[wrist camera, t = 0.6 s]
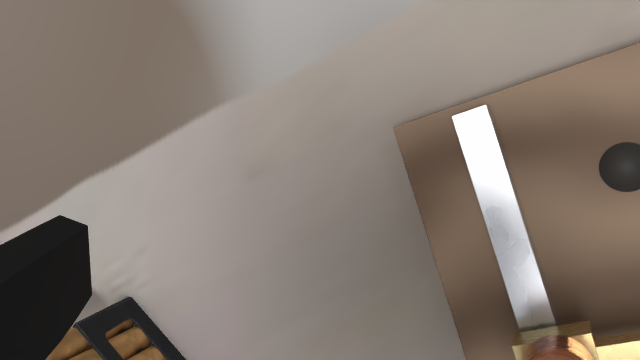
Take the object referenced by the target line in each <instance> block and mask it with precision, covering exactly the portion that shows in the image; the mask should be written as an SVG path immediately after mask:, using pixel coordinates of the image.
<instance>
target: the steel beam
mask: <svg viewBox="0 0 640 360" xmlns="http://www.w3.org/2000/svg"><path fill="white" fill-rule="evenodd" d="M452 119H453V122H454V125H455V128H456V132H457V135H458V138H459V141H460V144H461V147H462V150H463V154H464V157H465V160H466V163H467V166H468V169H469V172H470V176H471V179H472V182H473V185H474V188H475V191H476V194H477V198H478V201H479V204H480V207H481V210H482V213H483V217H484V220H485V223H486V226H487V229H488V232H489V235H490V239H491V242H492V245H493V248H494V251H495V254H496V257H497V261H498V264H499V267H500V270H501V273H502V276H503V279H504V283H505V286H506V289H507V292H508V295H509V298H510V302H511V305H512V308H513V311H514V314H515V317H516V320H517V324H518V327H519V330H520V332H525V331H531V330H537V329H543V328H548V327H554V326H560V324H559V321H558V318H557V315H556V311H555V308H554V305H553V302H552V299H551V296H550V293H549V289H548V286H547V283H546V280H545V277H544V274H543V271H542V268H541V264H540V261H539V258H538V255H537V252H536V249H535V246H534V242H533V239H532V236H531V233H530V230H529V227H528V224H527V220H526V217H525V214H524V211H523V208H522V205H521V202H520V199H519V195H518V192H517V189H516V186H515V183H514V180H513V177H512V173H511V170H510V167H509V164H508V161H507V158H506V155H505V151H504V148H503V145H502V142H501V139H500V136H499V133H498V130H497V126H496V123H495V120H494V117H493V114H492V111H491V108H490V105H484V106H481V107H478V108H475V109H472V110H469V111H466V112H463V113H460V114H457V115H454V116H452Z"/></svg>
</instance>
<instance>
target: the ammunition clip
mask: <svg viewBox="0 0 640 360" xmlns="http://www.w3.org/2000/svg"><path fill="white" fill-rule="evenodd" d="M46 360H186V359H185V358H184V357H183V356H182V355H181V353H180V352H179V351H178V350H177V349H176V348H175V347H174V345H173V344H172V343H171V342H170V341H169V340H168V338H167V337H166V336H165V335H164V334H163V333H162V332H161V330H160V329H159V328H158V327H157V326H156V325H155V324H154V322H153V321H152V320H151V319H150V318H149V317H148V315H147V314H146V313H145V312H144V311H143V310H142V309H141V307H140V306H139V305H138V304H137V303H136V302H135V301H134V299H133V298H131V297H127V298H125V299H123V300H121V301H119V302H117V303H115V304H113V305H111V306H109V307H107V308H105V309H103V310H101V311H99V312H97V313H95V314H93V315H91V316H89V317H87V318H85V319H83V320H81V321H79V322H77V323H75V324H74V326H73V327H72V328H70V329H69V331H68V332H67V333H66V335H65V336H64V338H63V339H62V341H61V342H60V343H59V344H58V345H57V347H56V348H55V349H54V350H53V351H52V353H51V354H50V355H49V356H48V357H47V358H46Z"/></svg>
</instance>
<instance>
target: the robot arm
mask: <svg viewBox="0 0 640 360" xmlns="http://www.w3.org/2000/svg"><path fill="white" fill-rule="evenodd" d="M91 296H92V287H91V271H90V255H89V239H88V226H87V225H85V224H82V223H79V222H77V221H74V220H71V219H69V218H66V217H63V216H61V215H59V216H57V217H55V218H53V219H51V220H49V221H47V222H45V223H43V224H41V225H39V226H37V227H35V228H33V229H31V230H29V231H27V232H25V233H23V234H21V235H19V236H17V237H15V238H13V239H11V240H9V241H7V242H5V243H3V244H2V245H0V360H46V358H47V357H48V356H49V355H50V354H51V353H52V351H53V350H54V349H55V348H56V347H57V345H58V344H59V343H60V342H61V341H62V339H63V338H64V336H65V335H66V333H67V332H68V331H69V329H70V328H71V326H72V325H73V323H74V322H75V320H76V319H77V317H78V316H79V314H80V313H81V311H82V310H83V308H84V307H85V305H86V303H87V302H88V300H89V299H90V297H91Z"/></svg>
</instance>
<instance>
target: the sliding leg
mask: <svg viewBox="0 0 640 360" xmlns="http://www.w3.org/2000/svg"><path fill="white" fill-rule="evenodd" d="M512 348H513V351H514V354H515V358H516V360H640V331H639V332H633V333H627V334H621V335H614V336H608V337H602V338H596V339H595V337H594V334H593V331H592V328H591V324H590V321H583V322H577V323H572V324H566V325H560V326H554V327H548V328H543V329H537V330H531V331H525V332H519V333H515V334H514V339H513V344H512Z"/></svg>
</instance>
